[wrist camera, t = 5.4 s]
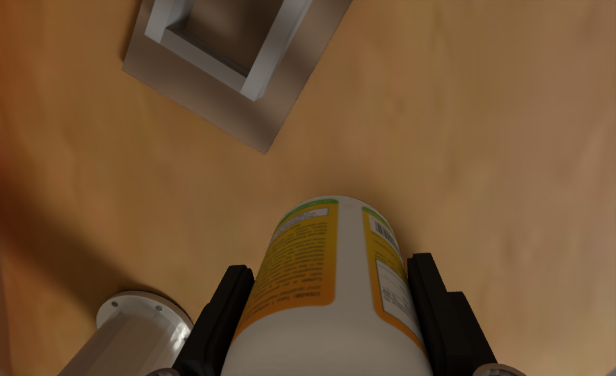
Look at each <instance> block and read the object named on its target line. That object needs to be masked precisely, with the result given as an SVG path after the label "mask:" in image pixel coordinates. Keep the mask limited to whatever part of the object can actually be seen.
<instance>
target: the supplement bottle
mask: <svg viewBox="0 0 616 376" xmlns="http://www.w3.org/2000/svg"><path fill="white" fill-rule="evenodd" d="M221 376H434V374H433V370H432V366H431V363H430V359H429V356H428V352H427V349H426V345H425V342H424V338H423V334H422V330H421V327H420V323H419V320H418V316H417V312H416V309H415V305H414V302H413V298H412V294H411V290H410V287H409V283H408V279H407V276H406V272H405V269H404V265H403V261H402V257H401V254H400V251H399V247H398V243H397V241H396V238H395V235H394V233H393V230H392V228H391V227H390V225H389V223H388V222H387V221H386V219H385V218H384V217H383V216H382V215H381V214H380V213H379V212H378V211H377V210H376V209H374V208H373V207H371V206H370V205H368V204H366V203H365V202H362V201H360V200H357V199H355V198H351V197H346V196H339V195H327V196H319V197H315V198H311V199H308V200H306V201H303V202H301V203H299V204H298V205H296V206H295V207H293V208H292V209H290V210H289V211H288V212H287V213H286V214H285V215H284V217H283V218H282V219H281V221H280V222H279V223H278V225H277V227H276V229H275V231H274V234H273V236H272V238H271V241H270V243H269V246H268V249H267V251H266V254H265V257H264V259H263V262H262V264H261V267H260V270H259V272H258V275H257V277H256V280H255V283H254V285H253V288H252V290H251V293H250V296H249V298H248V301H247V303H246V306H245V308H244V310H243V313H242V315H241V318H240V320H239V323H238V326H237V328H236V331H235V334H234V336H233V339H232V341H231V344H230V347H229V350H228V352H227V355H226V359H225V362H224V365H223V368H222V372H221Z"/></svg>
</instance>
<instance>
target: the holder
mask: <svg viewBox="0 0 616 376" xmlns="http://www.w3.org/2000/svg"><path fill="white" fill-rule="evenodd" d="M351 2H352V0H143V1H142V4H141V7H140V11H139V14H138V17H137V20H136V24H135V27H134V30H133V34H132V37H131V40H130V43H129V47H128V50H127V53H126V56H125V60H124V63H123V66H122V69H121V70H122V71H124V72H126V73H127V74H129V75H131V76H132V77H134V78H136V79H138V80H139V81H141V82H143V83H144V84H146V85H148V86H149V87H151V88H153V89H154V90H156V91H158V92H159V93H161V94H163V95H164V96H166V97H168V98H170V99H171V100H173V101H175V102H176V103H178V104H180V105H181V106H183V107H185V108H186V109H188V110H190V111H191V112H193V113H195V114H197V115H198V116H200V117H202V118H203V119H205V120H207V121H208V122H210V123H212V124H213V125H215V126H217V127H218V128H220V129H222V130H224V131H225V132H227V133H229V134H230V135H232V136H234V137H235V138H237V139H239V140H240V141H242V142H244V143H245V144H247V145H249V146H250V147H252V148H254V149H256V150H257V151H259V152H261V153H262V154H264V155H265V154H266V153H267V151H268V150H269V148H270V146H271V144H272V143H273V141H274V139H275V137H276V135H277V134H278V132H279V130H280V128H281V127H282V125H283V123H284V121H285V119H286V118H287V116H288V114H289V112H290V111H291V109H292V107H293V105H294V103H295V102H296V100H297V98H298V96H299V95H300V93H301V91H302V89H303V87H304V86H305V84H306V82H307V80H308V79H309V77H310V75H311V73H312V71H313V70H314V68H315V66H316V64H317V63H318V61H319V59H320V57H321V55H322V54H323V52H324V50H325V48H326V47H327V45H328V43H329V41H330V40H331V38H332V36H333V34H334V32H335V31H336V29H337V27H338V25H339V24H340V22H341V20H342V18H343V16H344V15H345V13H346V11H347V9H348V8H349V6H350V4H351Z"/></svg>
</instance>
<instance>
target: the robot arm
mask: <svg viewBox="0 0 616 376" xmlns="http://www.w3.org/2000/svg"><path fill="white" fill-rule="evenodd" d="M407 266H408V283H409V287H410V290H411V294H412V298H413V302H414V305H415V309H416V312H417V316H418V320H419V323H420V327H421V330H422V334H423V338H424V342H425V345H426V349H427V352H428V356H429V359H430V363H431V366H432V370H433V374H434V376H526V375H525V374H524V373H522V372H520V371H519V370H517V369H515V368H513V367H510V366H507V365H504V364H498V362H497V360H496V358H495V356H494V354H493V352H492V350H491V348H490V346H489V344H488V342H487V340H486V338H485V336H484V334H483V332H482V330H481V328H480V325H479V323H478V321H477V319H476V317H475V315H474V313H473V311H472V309H471V307H470V305H469V303H468V301H467V299H466V297H465V295H464V293H463V292H461V291H459V292H447V290H446V288H445V286H444V283H443V281H442V279H441V276H440V274H439V271H438V269H437V267H436V264H435V262H434V260H433V257H432V255H431V253H418V254H413V258H408V259H407ZM254 283H255V280H254V277H253V273H252V270H251V269H250V268H247V266H246V265H232V266H229V267H228V269H227V271H226V273H225V275H224V277H223V278H222V280H221V282H220V284H219V286H218V288H217V290H216V291H215V293H214V295H213V297H212V299H211V301H210V303H208V304H207V305H206V306H205V307H204V309H203V310H202V312H201V314H200V316H199V318H198V320H197V321H196V323H195V325H194V327H193V325H192V322H191V321H190V320H189V318H188V317H187V315H186V314H185V313H184V312H183V311H182V310H181V309H180V308H179V307H177V306H176V305H175V304H173V303H172V302H170V301H168V300H167V299H165V298H163V297H161V296H158V295H155V294H153V293H148V292H144V291H124V292H120V293H117V294H115V295H113V296H111V297H110V298H109V299H108V300H107V301H106V302H105V303H104V304H103V305H102V306H101V307H100V308H99V310H98V313H97V317H96V325H97V331H96V332H95V333H94V335H93V336H92V337H91V338H90V339H89V340H88V341H87V342H86V344H85V345H84V346H83V347H82V348H81V349H80V350H79V352H78V353H77V354H76V355H75V356H74V357H73V358H72V359H71V361H70V362H69V363H68V364H67V365H66V366H65V367H64V369H63V370H62V371H61V372H60V373H59V374H58V375H57V376H221V372H222V368H223V365H224V362H225V359H226V355H227V352H228V350H229V347H230V344H231V341H232V339H233V336H234V334H235V331H236V328H237V326H238V323H239V320H240V318H241V315H242V313H243V310H244V308H245V306H246V303H247V301H248V298H249V296H250V293H251V290H252V288H253V285H254Z"/></svg>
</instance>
